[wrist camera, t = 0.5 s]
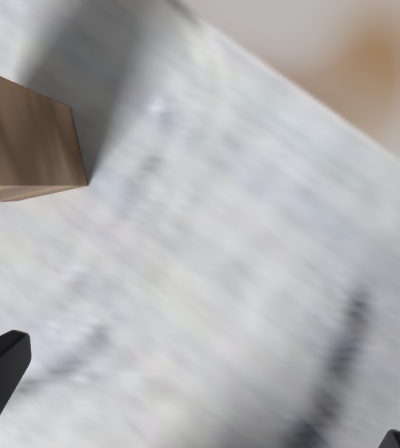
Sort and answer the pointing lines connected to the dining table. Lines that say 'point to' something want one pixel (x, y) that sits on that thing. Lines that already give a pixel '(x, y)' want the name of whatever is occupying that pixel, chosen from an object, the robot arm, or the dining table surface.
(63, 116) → the walnut block
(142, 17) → the dining table surface
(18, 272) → the dining table surface
